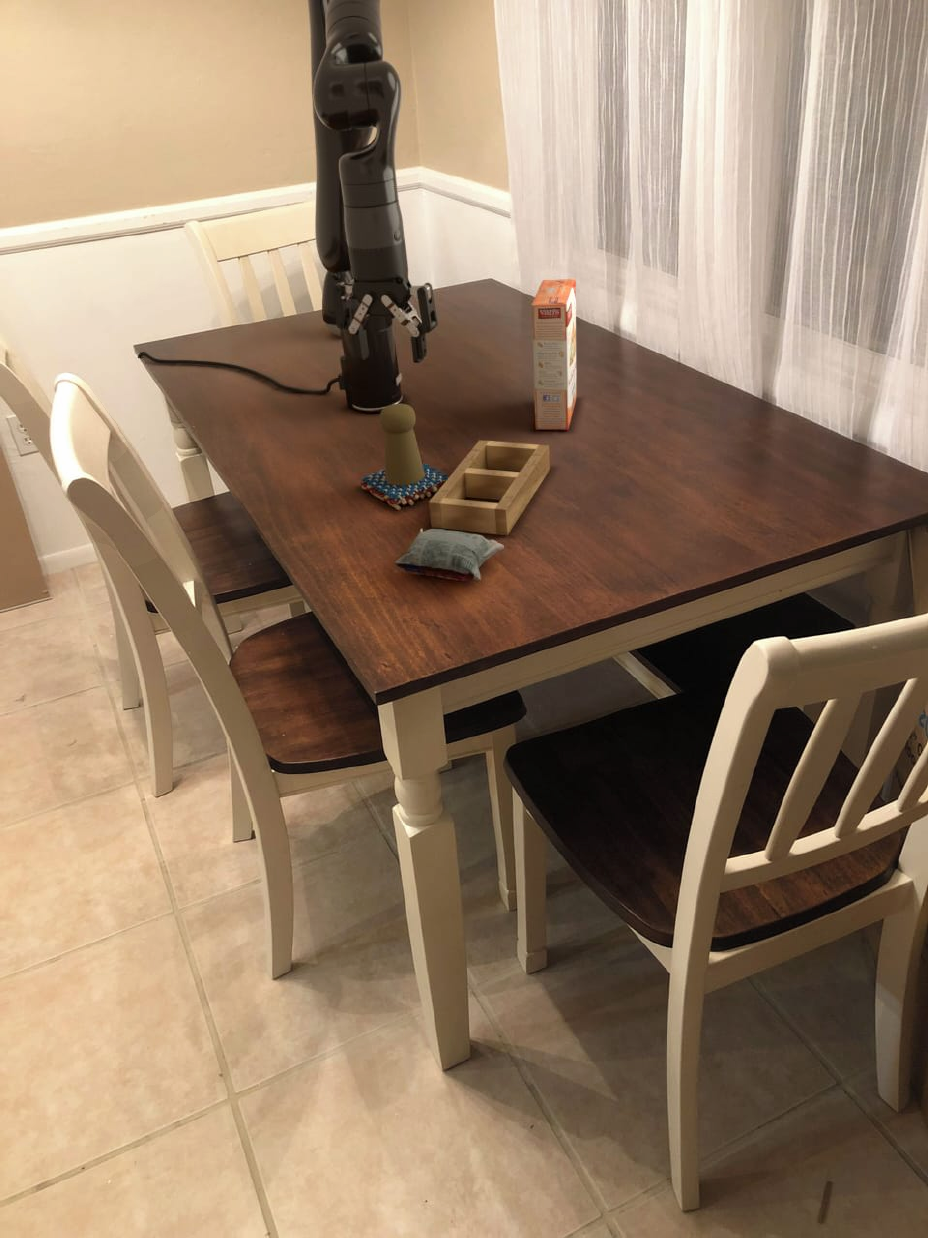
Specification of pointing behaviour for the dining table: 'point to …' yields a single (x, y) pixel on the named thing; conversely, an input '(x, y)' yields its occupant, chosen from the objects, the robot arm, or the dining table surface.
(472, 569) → the packaged food
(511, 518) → the spice rack
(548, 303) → the cracker box
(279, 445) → the dining table surface
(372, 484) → the woven mat
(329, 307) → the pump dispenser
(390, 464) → the olive peg doll
